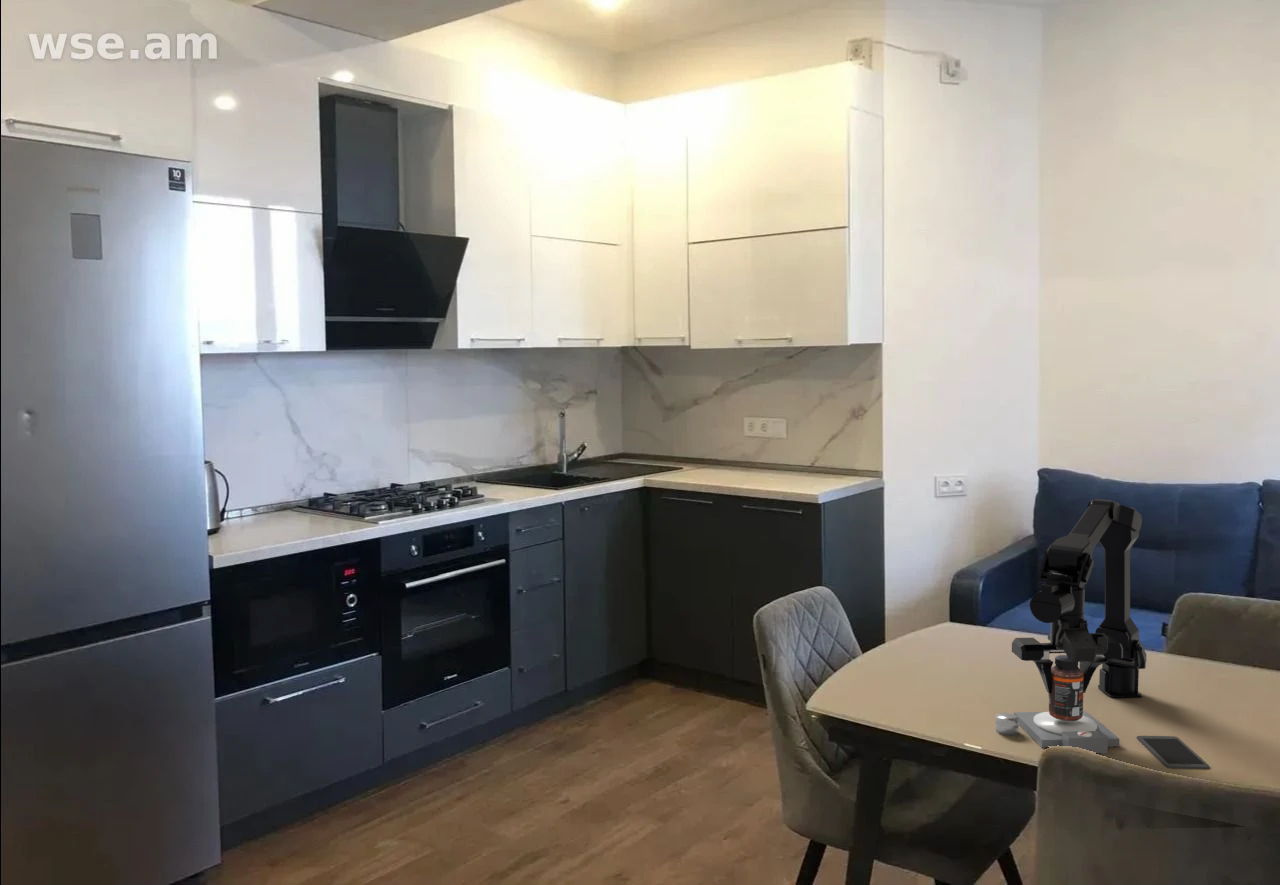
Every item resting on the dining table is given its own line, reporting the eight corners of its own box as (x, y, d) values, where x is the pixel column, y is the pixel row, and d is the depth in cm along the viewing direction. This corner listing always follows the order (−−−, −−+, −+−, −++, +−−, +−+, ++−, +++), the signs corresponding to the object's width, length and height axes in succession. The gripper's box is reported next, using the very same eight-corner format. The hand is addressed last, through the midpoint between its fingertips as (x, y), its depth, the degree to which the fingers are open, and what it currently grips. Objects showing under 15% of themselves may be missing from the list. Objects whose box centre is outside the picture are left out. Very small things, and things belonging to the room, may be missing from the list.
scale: (1086, 718, 200) (1086, 701, 200) (1127, 753, 183) (1127, 735, 183) (1014, 719, 200) (1014, 703, 200) (1048, 754, 183) (1048, 736, 183)
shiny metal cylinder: (1013, 728, 196) (1013, 712, 196) (1021, 736, 192) (1021, 720, 192) (992, 728, 196) (992, 713, 196) (999, 736, 192) (1000, 720, 192)
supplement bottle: (1086, 723, 189) (1087, 663, 188) (1052, 721, 190) (1052, 662, 189) (1079, 711, 195) (1079, 653, 194) (1045, 710, 196) (1046, 652, 195)
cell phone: (1176, 739, 190) (1176, 735, 189) (1211, 771, 176) (1211, 767, 176) (1135, 739, 190) (1135, 735, 190) (1167, 770, 176) (1167, 766, 176)
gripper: (1033, 624, 183) (1032, 709, 184) (1138, 622, 183) (1136, 707, 184) (1011, 608, 194) (1010, 688, 195) (1110, 605, 194) (1108, 686, 195)
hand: (1065, 692), depth 192 cm, fingers closed on supplement bottle, 6 cm apart
